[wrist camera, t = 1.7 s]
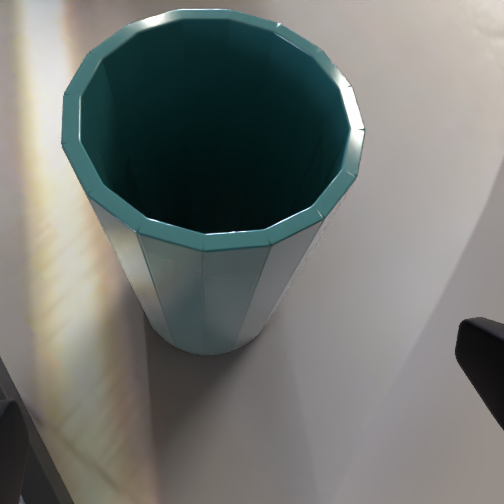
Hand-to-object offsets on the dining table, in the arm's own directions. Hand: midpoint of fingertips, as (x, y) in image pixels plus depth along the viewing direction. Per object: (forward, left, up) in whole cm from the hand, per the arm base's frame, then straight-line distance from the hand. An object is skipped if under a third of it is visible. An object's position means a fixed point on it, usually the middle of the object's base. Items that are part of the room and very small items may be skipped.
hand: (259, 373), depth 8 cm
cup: (+5, -2, -12) cm, 13 cm away
